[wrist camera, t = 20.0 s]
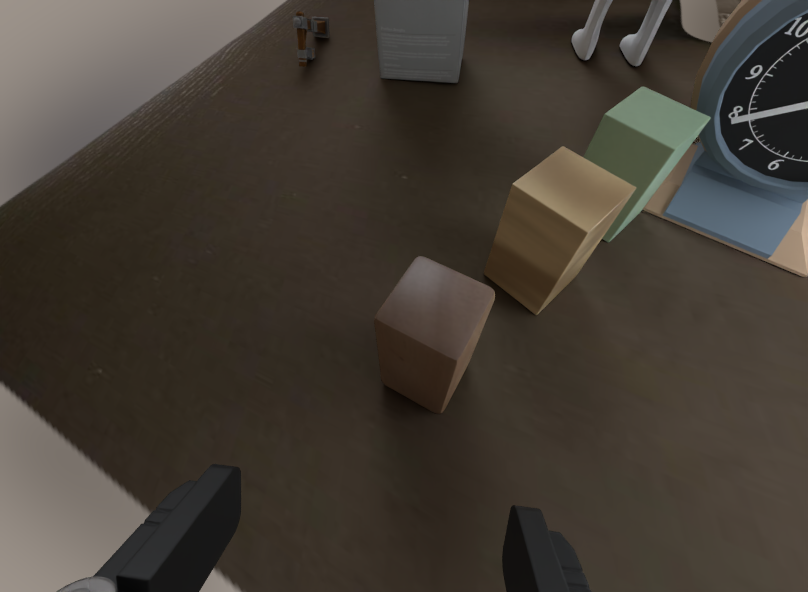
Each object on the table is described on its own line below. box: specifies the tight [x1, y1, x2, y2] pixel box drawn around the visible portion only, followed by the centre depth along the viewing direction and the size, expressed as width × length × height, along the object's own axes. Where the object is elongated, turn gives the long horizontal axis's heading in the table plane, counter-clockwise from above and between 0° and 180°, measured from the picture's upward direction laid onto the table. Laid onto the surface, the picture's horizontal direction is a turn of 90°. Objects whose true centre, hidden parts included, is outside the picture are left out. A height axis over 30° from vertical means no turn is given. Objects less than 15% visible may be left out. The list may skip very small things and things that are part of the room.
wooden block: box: [374, 256, 495, 414], centre depth 19 cm, size 4×4×8 cm
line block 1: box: [484, 146, 636, 315], centre depth 23 cm, size 4×4×8 cm
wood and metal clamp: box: [293, 12, 329, 67], centre depth 40 cm, size 2×8×4 cm, turn 172°
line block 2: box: [583, 86, 711, 243], centre depth 26 cm, size 4×4×8 cm
